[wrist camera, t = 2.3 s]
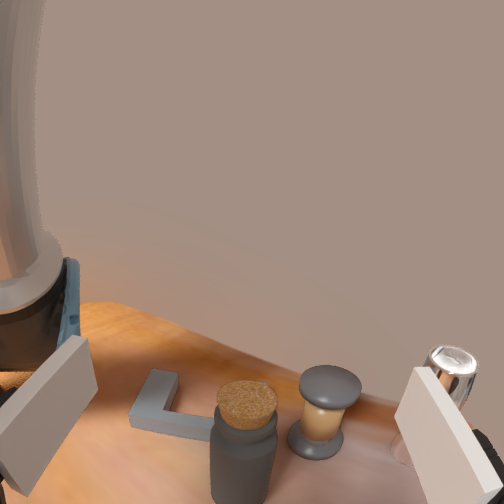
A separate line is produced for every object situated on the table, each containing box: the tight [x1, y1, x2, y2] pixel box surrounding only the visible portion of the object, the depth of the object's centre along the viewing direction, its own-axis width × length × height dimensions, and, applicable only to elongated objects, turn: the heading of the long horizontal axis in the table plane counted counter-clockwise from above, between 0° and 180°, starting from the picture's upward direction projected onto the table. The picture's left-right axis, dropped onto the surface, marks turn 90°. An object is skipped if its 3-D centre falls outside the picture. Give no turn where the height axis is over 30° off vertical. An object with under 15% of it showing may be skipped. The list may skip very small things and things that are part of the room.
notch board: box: [128, 368, 267, 442], centre depth 39 cm, size 17×10×2 cm, turn 87°
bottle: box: [210, 380, 278, 504], centre depth 25 cm, size 6×6×15 cm
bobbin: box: [288, 365, 362, 460], centre depth 34 cm, size 7×7×10 cm
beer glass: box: [391, 345, 480, 466], centre depth 30 cm, size 7×7×15 cm
